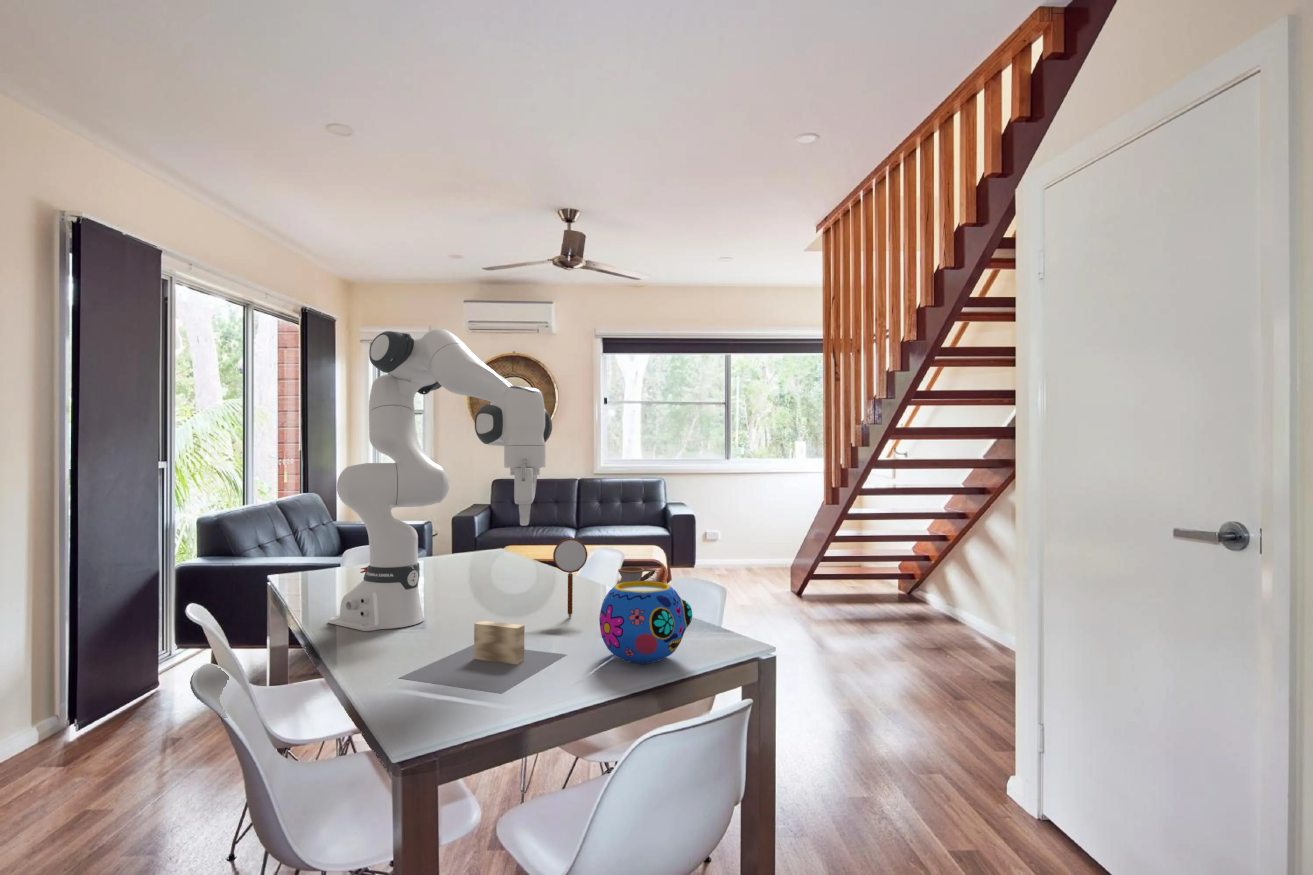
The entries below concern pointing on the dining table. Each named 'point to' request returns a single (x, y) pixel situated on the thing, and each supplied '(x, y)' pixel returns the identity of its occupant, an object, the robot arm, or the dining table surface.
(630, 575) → the coffee pot
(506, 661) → the birch tile
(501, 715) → the dining table surface
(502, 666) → the rubber mat
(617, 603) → the ceramic pot
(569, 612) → the magnifying glass
